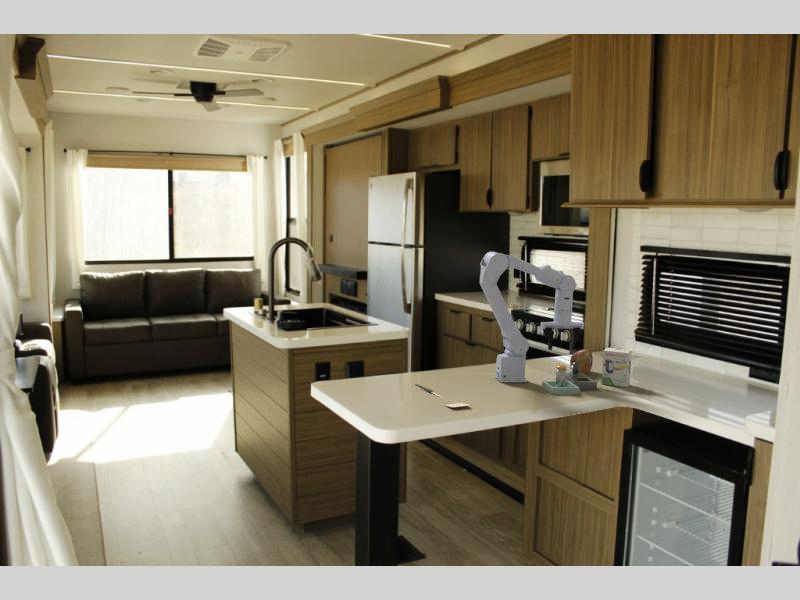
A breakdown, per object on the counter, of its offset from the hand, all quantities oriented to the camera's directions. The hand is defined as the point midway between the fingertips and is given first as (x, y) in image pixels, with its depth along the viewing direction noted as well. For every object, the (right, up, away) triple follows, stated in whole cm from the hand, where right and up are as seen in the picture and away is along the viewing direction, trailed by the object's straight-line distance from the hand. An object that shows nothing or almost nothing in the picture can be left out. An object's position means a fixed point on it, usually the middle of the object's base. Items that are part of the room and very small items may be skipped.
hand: (560, 349), depth 231 cm
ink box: (+18, -12, -3) cm, 21 cm away
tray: (-3, -12, -13) cm, 18 cm away
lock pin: (-3, -12, -13) cm, 18 cm away
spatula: (-43, -13, -24) cm, 51 cm away
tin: (+9, -10, +11) cm, 17 cm away
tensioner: (+5, -11, -5) cm, 13 cm away
